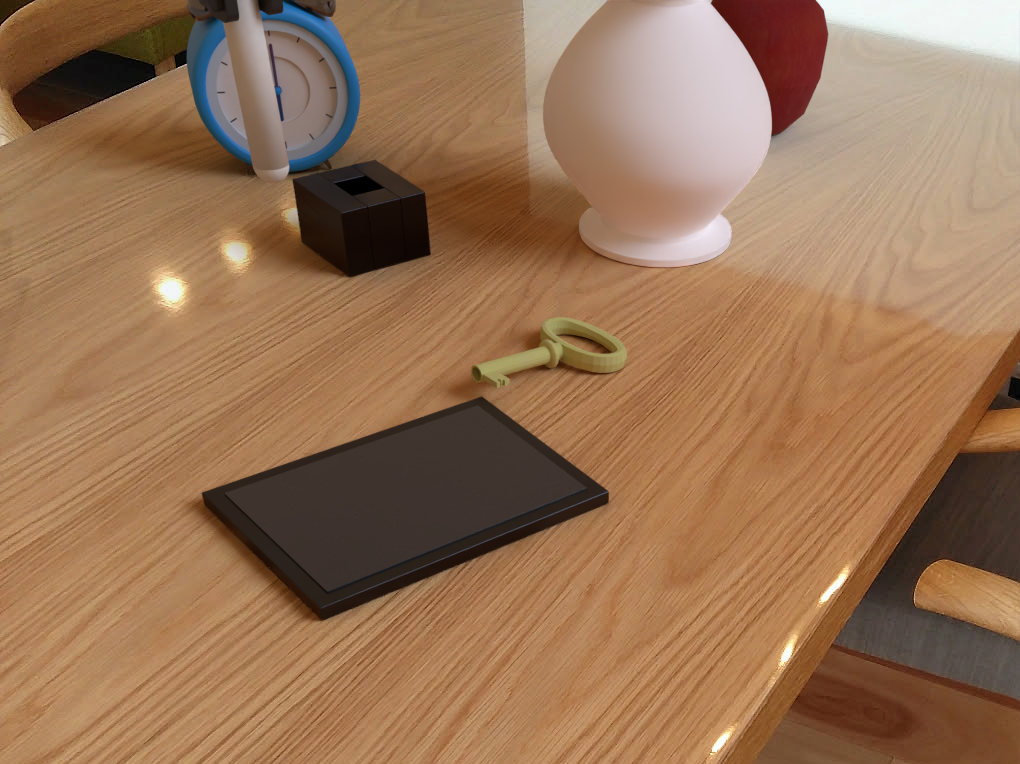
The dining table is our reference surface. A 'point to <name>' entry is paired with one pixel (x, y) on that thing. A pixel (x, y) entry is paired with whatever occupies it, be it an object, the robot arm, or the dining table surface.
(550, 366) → the key
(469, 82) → the dining table surface
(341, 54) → the alarm clock
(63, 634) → the dining table surface
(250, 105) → the stylus
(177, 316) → the dining table surface
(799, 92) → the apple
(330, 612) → the tablet
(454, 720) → the dining table surface
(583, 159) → the decorative vase
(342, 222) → the holder
